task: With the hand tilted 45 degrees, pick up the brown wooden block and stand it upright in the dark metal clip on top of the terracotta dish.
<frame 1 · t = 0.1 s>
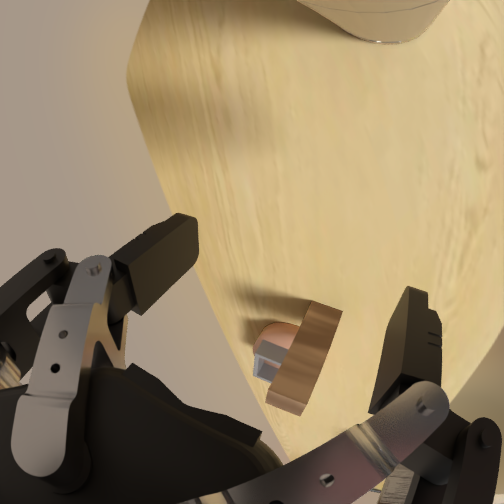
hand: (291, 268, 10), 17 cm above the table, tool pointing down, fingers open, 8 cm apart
coffee box: (411, 442, 47), on the table
brown wooden block: (324, 315, 36), on the table
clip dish: (292, 345, 43), on the table
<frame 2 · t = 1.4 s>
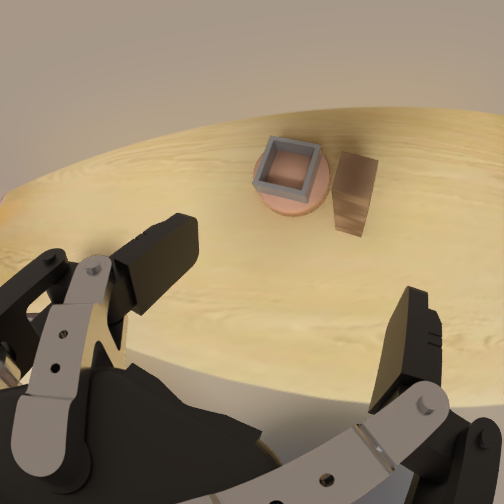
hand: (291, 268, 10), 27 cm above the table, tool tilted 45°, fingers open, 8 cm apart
brown wooden block: (352, 219, 37), on the table
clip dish: (294, 182, 40), on the table
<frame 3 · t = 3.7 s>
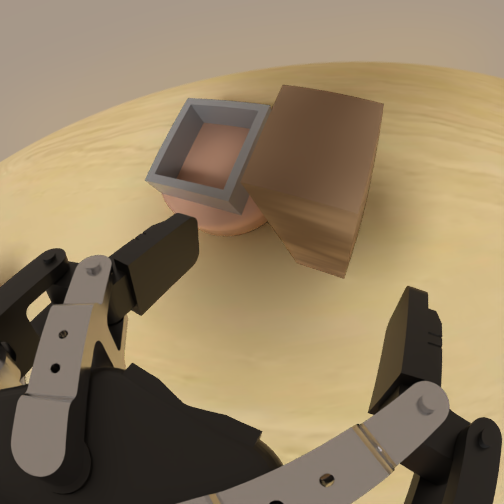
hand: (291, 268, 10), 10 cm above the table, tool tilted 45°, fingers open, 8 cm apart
brown wooden block: (329, 243, 21), on the table
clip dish: (231, 176, 24), on the table
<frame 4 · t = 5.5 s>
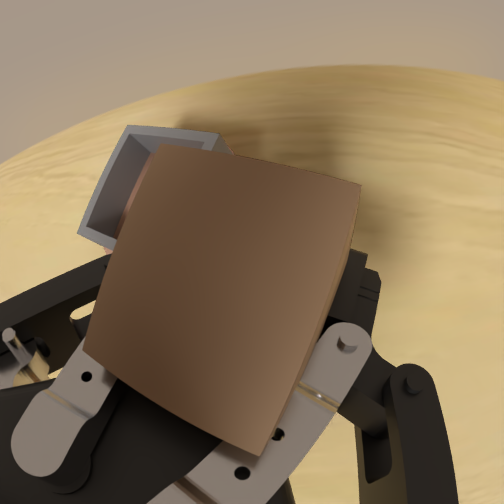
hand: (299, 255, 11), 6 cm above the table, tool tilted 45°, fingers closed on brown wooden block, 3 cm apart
brown wooden block: (299, 310, 16), on the table, touching gripper
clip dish: (186, 218, 20), on the table
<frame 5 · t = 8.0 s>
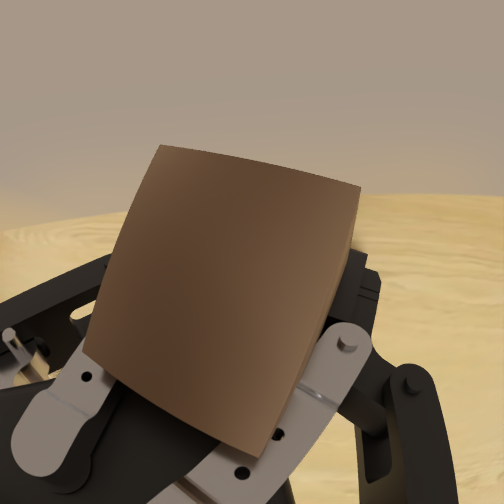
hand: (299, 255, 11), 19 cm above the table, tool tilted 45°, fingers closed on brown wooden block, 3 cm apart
brown wooden block: (299, 310, 16), point 14 cm above the table, touching gripper
when the fingers open (10 cm above the table, at t = 10.4 s): brown wooden block drops 1 cm, resting on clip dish.
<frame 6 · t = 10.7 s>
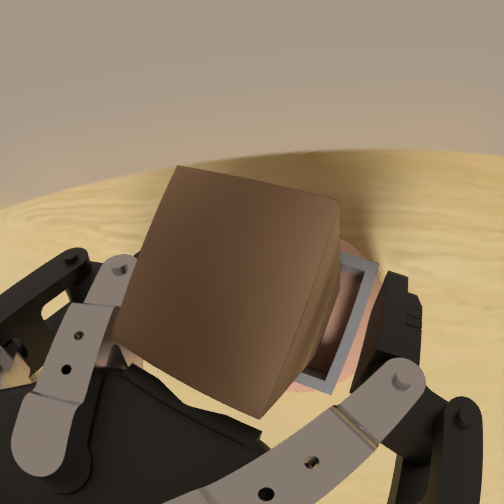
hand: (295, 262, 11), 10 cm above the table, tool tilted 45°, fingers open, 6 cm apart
brown wooden block: (301, 311, 17), point 3 cm above the table, touching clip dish
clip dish: (306, 311, 20), on the table
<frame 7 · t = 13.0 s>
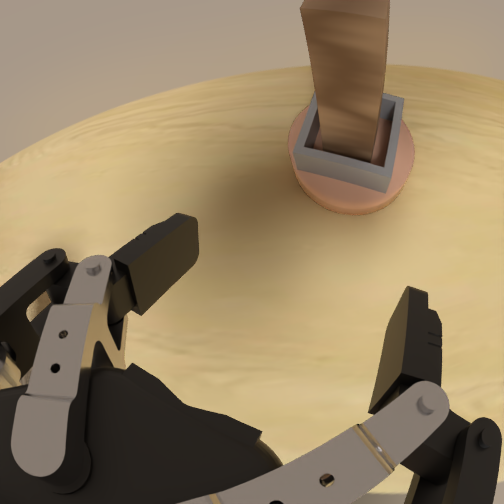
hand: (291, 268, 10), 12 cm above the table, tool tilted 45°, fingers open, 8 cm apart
brown wooden block: (351, 141, 21), point 3 cm above the table, touching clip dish
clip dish: (351, 160, 24), on the table
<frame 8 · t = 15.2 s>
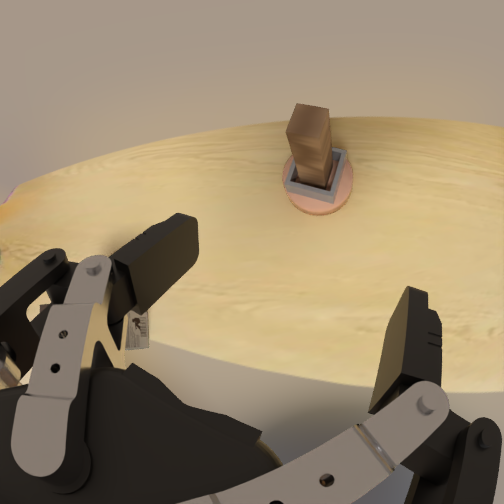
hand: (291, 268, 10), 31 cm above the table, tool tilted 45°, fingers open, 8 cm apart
coffee box: (128, 329, 47), on the table
brown wooden block: (317, 175, 40), point 3 cm above the table, touching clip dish
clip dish: (318, 184, 43), on the table
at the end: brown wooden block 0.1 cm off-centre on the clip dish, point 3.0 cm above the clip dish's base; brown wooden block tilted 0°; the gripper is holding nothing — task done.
